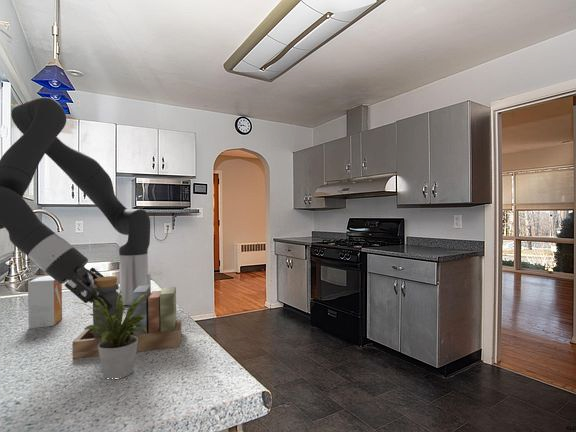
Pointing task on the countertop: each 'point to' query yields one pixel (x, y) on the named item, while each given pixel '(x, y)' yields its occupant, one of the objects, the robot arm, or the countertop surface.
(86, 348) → the rack
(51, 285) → the small box
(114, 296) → the bottle
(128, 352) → the house plant
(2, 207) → the robot arm
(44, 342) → the countertop surface
